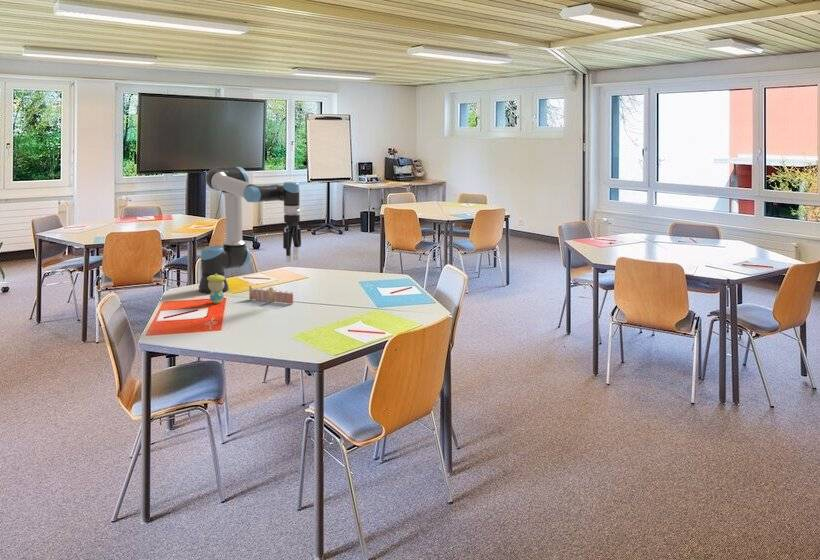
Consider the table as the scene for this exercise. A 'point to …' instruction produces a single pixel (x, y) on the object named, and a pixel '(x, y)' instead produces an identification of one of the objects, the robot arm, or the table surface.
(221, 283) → the toy
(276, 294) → the fence wing
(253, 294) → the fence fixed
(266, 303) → the card
